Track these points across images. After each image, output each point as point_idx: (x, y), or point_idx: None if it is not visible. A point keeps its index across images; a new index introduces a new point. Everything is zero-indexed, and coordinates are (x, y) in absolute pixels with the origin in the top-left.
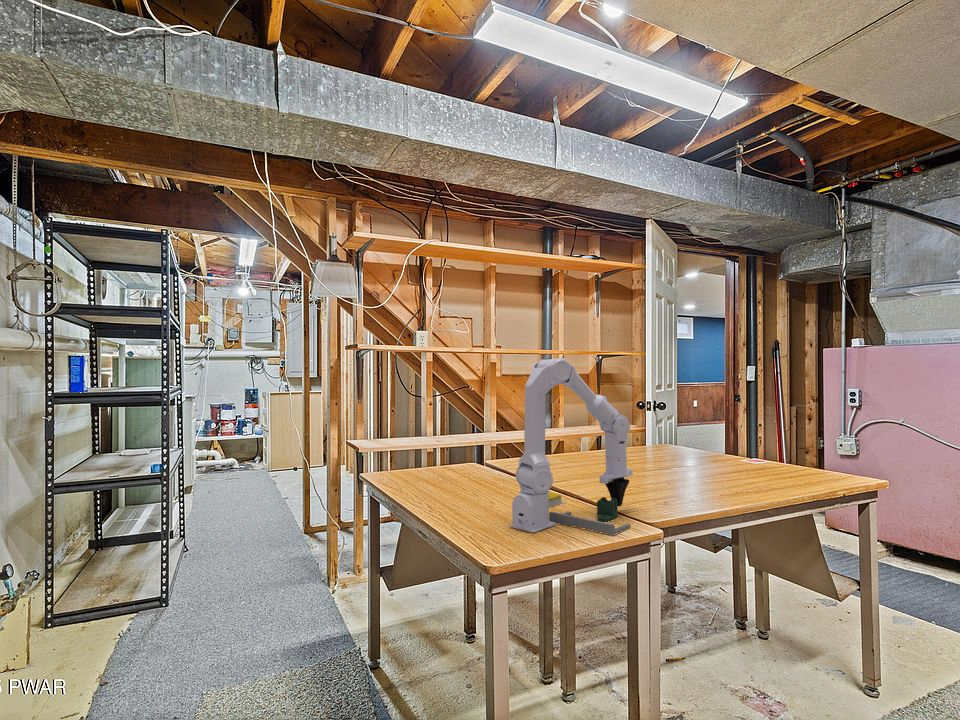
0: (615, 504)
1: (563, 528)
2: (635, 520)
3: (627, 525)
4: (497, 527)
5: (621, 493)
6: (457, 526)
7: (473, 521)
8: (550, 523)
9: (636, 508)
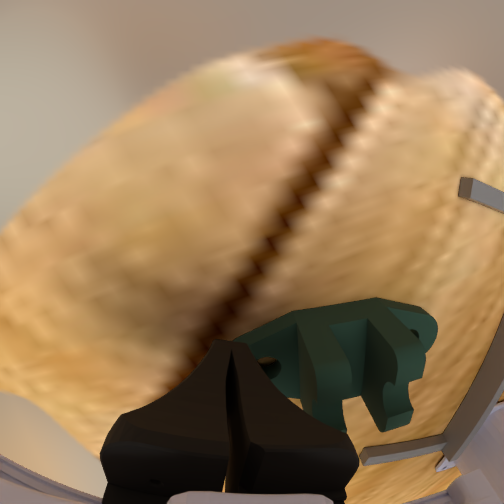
0: (341, 351)
1: None
2: (326, 192)
3: (490, 186)
4: None
5: (252, 387)
6: None
7: None
8: None
9: (66, 279)
